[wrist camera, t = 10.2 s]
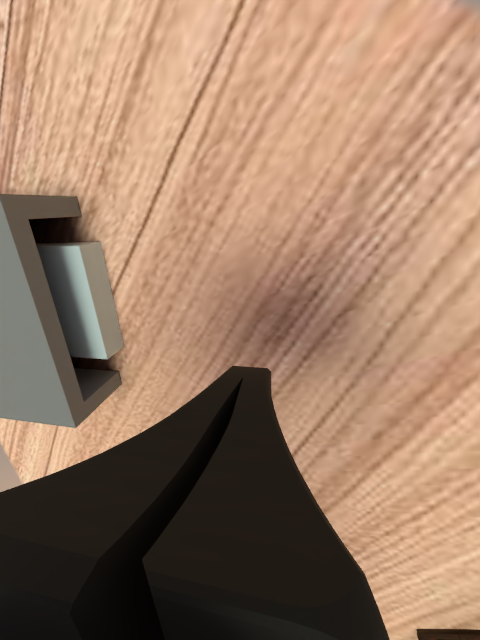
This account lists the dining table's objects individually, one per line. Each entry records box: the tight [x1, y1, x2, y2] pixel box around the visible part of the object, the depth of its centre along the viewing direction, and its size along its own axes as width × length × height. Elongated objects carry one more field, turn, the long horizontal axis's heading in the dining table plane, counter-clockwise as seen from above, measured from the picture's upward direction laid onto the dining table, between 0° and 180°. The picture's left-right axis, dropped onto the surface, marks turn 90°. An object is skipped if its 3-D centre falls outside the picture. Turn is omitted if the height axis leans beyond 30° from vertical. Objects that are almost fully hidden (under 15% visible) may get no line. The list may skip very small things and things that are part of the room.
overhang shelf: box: [0, 194, 121, 428], centre depth 20 cm, size 14×10×5 cm, turn 3°
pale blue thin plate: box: [36, 242, 124, 359], centre depth 21 cm, size 8×9×2 cm
